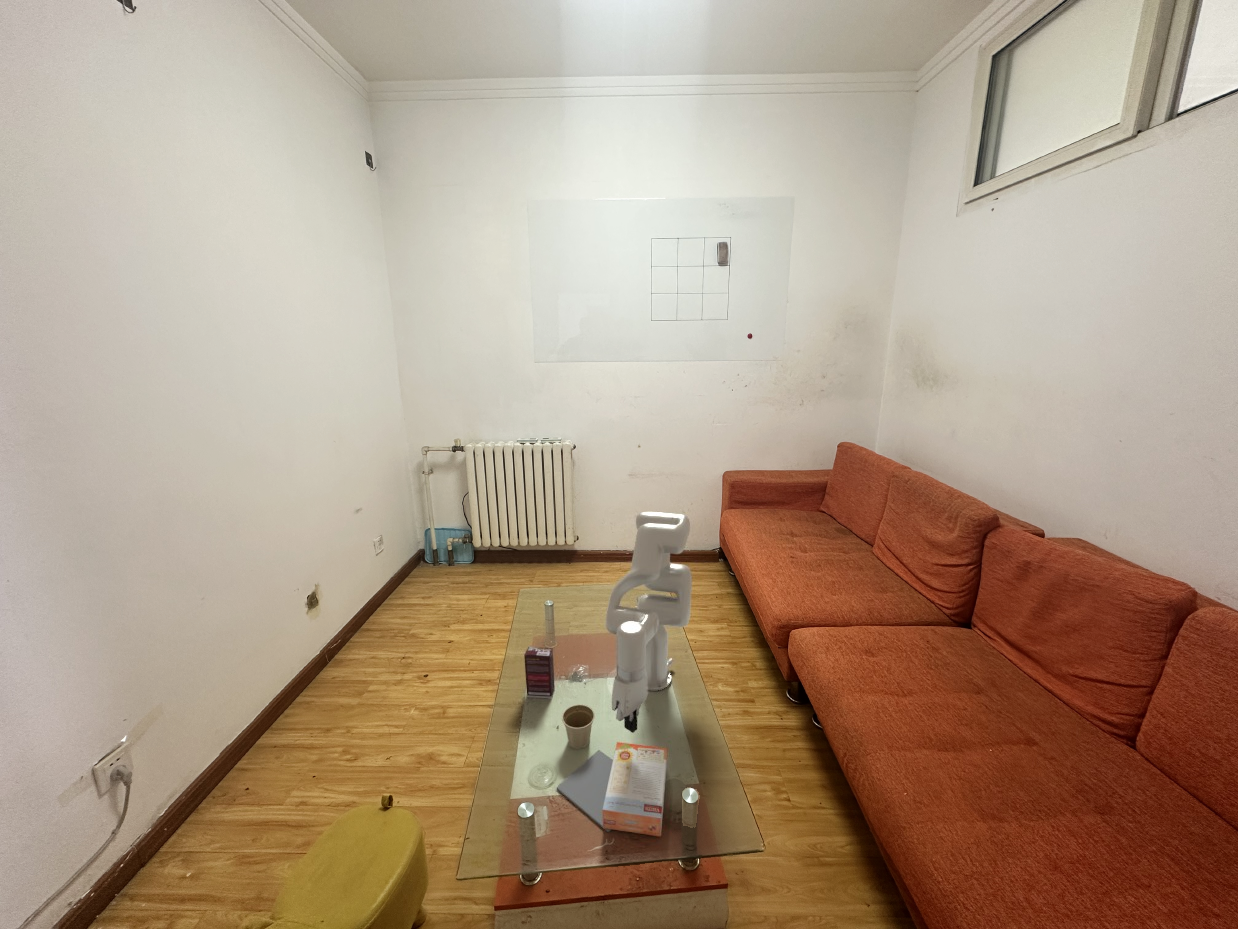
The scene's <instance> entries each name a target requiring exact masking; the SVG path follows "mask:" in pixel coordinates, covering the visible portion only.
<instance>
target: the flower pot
mask: <svg viewBox="0 0 1238 929" xmlns="http://www.w3.org/2000/svg"><path fill="white" fill-rule="evenodd" d="M561 714H562V715H561V721H562V723H563V725H564V727H565V731H566V736H567V741H568V744H569V746H570V747H571V748H572V749H576V750H580V749H584V748H585V747H587V746H589V744H590V741H591V732H592V726H593V722H594V720H595V717H596V715H595V711H594V709H593V708H591V707H590V706H588V705H586V704H574V705H571V706H569V707H567V708H566V709H565V710H564V711H563V713H561Z"/></svg>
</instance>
